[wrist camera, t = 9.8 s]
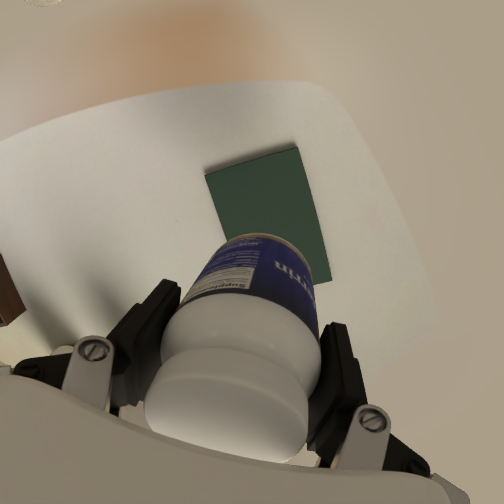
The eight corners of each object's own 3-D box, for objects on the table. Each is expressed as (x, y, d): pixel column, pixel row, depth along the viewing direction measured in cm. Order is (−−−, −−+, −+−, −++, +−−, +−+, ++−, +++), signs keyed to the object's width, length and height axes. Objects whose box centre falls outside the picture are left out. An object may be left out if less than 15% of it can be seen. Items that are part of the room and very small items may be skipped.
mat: (205, 174, 24) (204, 175, 24) (297, 147, 22) (297, 147, 22) (248, 297, 28) (248, 300, 27) (331, 278, 26) (332, 280, 26)
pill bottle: (326, 304, 16) (347, 463, 7) (236, 333, 18) (194, 479, 8) (287, 211, 14) (278, 336, 5) (190, 253, 16) (88, 379, 7)
